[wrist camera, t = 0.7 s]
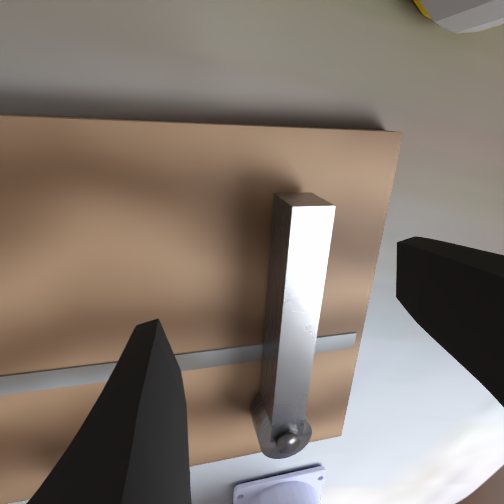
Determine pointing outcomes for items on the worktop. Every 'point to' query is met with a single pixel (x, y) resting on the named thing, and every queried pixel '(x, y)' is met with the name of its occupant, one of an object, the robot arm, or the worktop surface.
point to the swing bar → (291, 320)
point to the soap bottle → (463, 14)
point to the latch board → (169, 270)
